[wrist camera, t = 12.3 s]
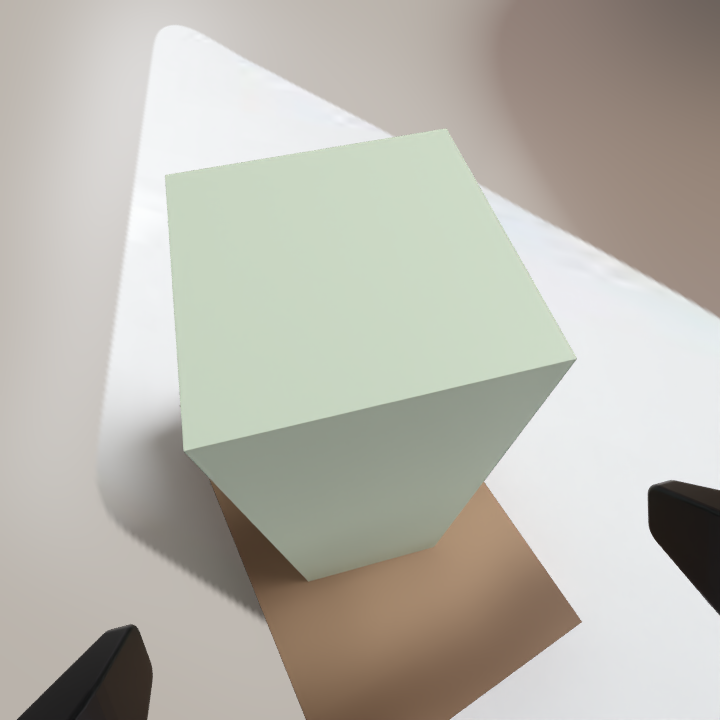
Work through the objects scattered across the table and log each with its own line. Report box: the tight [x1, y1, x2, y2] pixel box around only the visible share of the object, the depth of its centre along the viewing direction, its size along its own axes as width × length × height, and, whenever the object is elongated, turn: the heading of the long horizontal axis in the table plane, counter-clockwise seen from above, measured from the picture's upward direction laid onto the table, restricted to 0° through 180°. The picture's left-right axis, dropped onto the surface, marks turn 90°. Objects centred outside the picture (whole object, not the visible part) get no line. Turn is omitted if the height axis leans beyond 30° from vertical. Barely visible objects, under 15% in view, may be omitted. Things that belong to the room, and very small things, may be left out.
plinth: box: [180, 406, 582, 720], centre depth 19 cm, size 14×9×3 cm, turn 29°
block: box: [165, 129, 577, 582], centre depth 12 cm, size 4×4×13 cm
